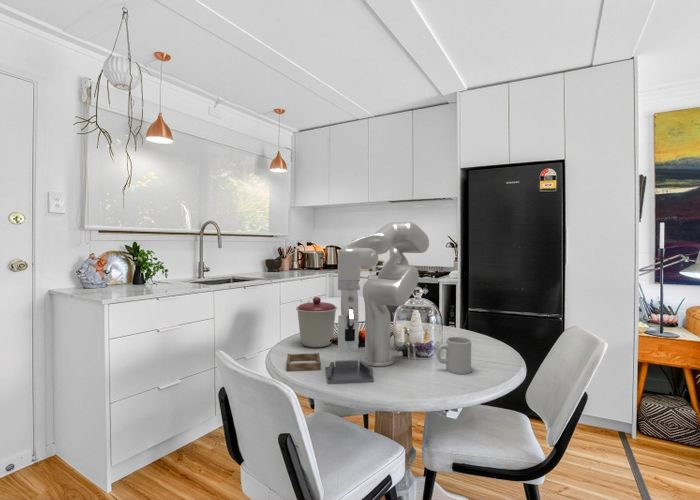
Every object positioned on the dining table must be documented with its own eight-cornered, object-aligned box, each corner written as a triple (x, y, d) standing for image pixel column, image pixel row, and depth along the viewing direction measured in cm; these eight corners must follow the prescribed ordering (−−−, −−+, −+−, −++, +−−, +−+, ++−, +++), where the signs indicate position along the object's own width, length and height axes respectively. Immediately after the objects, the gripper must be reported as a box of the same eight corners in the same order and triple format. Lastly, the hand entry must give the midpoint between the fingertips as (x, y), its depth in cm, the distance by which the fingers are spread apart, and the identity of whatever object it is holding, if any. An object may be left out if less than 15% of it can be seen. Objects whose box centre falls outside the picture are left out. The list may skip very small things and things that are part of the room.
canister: (296, 339, 177) (296, 294, 176) (335, 338, 178) (335, 293, 178) (295, 351, 159) (295, 300, 158) (338, 350, 161) (338, 300, 160)
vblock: (366, 368, 138) (367, 358, 137) (373, 382, 125) (373, 371, 125) (324, 370, 136) (324, 360, 135) (327, 384, 123) (327, 373, 123)
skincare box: (348, 347, 132) (349, 312, 132) (358, 349, 129) (359, 314, 129) (336, 351, 128) (337, 314, 127) (347, 353, 125) (347, 316, 124)
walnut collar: (319, 359, 148) (319, 353, 148) (320, 370, 136) (320, 363, 136) (287, 360, 146) (287, 354, 146) (286, 371, 134) (286, 364, 134)
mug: (465, 366, 141) (466, 336, 140) (474, 374, 132) (475, 342, 132) (433, 366, 140) (434, 337, 140) (440, 375, 131) (441, 343, 131)
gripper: (364, 288, 120) (363, 344, 120) (356, 282, 137) (355, 332, 137) (340, 288, 119) (339, 345, 119) (335, 282, 136) (334, 332, 137)
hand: (348, 337), depth 128 cm, fingers closed on skincare box, 7 cm apart
